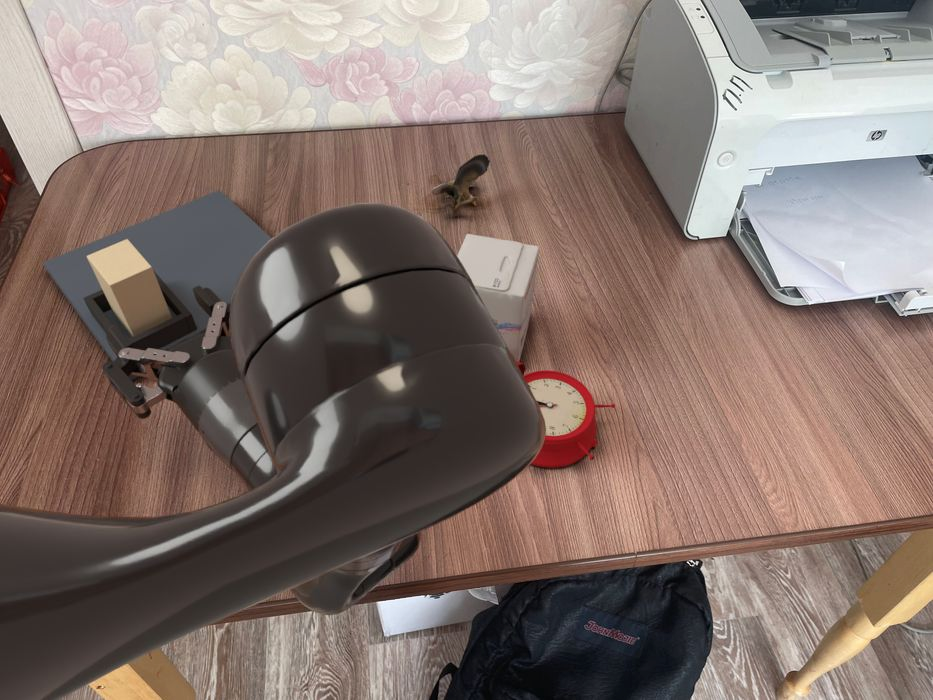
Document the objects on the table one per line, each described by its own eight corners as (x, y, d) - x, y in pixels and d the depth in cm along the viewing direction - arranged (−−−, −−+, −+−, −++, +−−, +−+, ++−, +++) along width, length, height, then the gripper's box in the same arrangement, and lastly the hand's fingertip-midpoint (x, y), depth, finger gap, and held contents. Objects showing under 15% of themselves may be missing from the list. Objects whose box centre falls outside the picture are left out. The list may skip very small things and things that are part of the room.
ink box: (463, 305, 87) (466, 228, 78) (531, 319, 86) (542, 243, 77) (444, 355, 81) (444, 279, 73) (516, 371, 80) (526, 295, 71)
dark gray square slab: (127, 382, 77) (113, 355, 74) (49, 274, 89) (33, 246, 85) (313, 286, 88) (308, 259, 85) (222, 201, 100) (215, 174, 96)
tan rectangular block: (137, 345, 78) (109, 285, 72) (115, 315, 81) (86, 255, 75) (175, 326, 81) (151, 266, 74) (152, 298, 84) (127, 238, 77)
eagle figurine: (492, 217, 97) (501, 170, 102) (464, 182, 92) (475, 135, 97) (447, 231, 101) (458, 186, 106) (418, 199, 96) (430, 153, 101)
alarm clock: (594, 468, 67) (455, 394, 69) (571, 496, 72) (442, 426, 74) (624, 391, 74) (497, 325, 75) (601, 421, 79) (482, 358, 80)
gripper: (305, 344, 62) (214, 252, 70) (150, 430, 55) (69, 318, 63) (315, 398, 68) (230, 306, 75) (176, 481, 61) (98, 372, 69)
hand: (156, 312), depth 69 cm, fingers open, 8 cm apart
